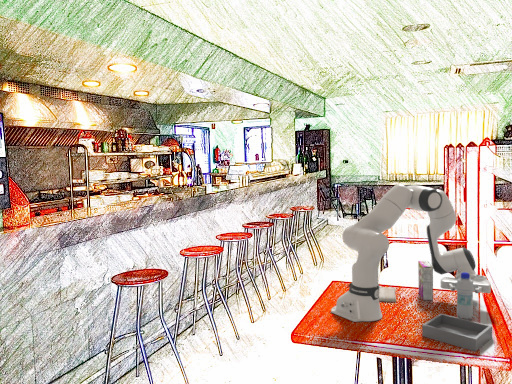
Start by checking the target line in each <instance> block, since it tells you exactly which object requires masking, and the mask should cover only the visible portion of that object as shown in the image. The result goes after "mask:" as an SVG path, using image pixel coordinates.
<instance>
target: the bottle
mask: <svg viewBox="0 0 512 384" xmlns="http://www.w3.org/2000/svg"><path fill="white" fill-rule="evenodd" d="M469 278H470V275H469V273H466V272H463V273H461V278H459V279H458V280H457V286H456V287H457V289H456V290H455V291H456V295H457V296H456V298H457V299H456V317H457V318H461V319H466V320H470V321H472V320H473V319H472V318H473V316H474V309H473V308H474V307H473V306H474V305H473V301H474V300H473V298H474V296H473V295H474V294H473V293H475V292H474V286H473V281H472V280H471V279H469Z"/></svg>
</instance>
